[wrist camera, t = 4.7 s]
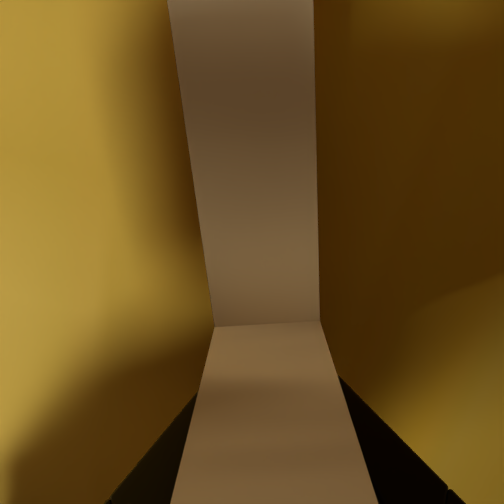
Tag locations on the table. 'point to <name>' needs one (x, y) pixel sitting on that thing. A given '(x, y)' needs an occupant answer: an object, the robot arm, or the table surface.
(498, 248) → the table surface
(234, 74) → the birch pusher
